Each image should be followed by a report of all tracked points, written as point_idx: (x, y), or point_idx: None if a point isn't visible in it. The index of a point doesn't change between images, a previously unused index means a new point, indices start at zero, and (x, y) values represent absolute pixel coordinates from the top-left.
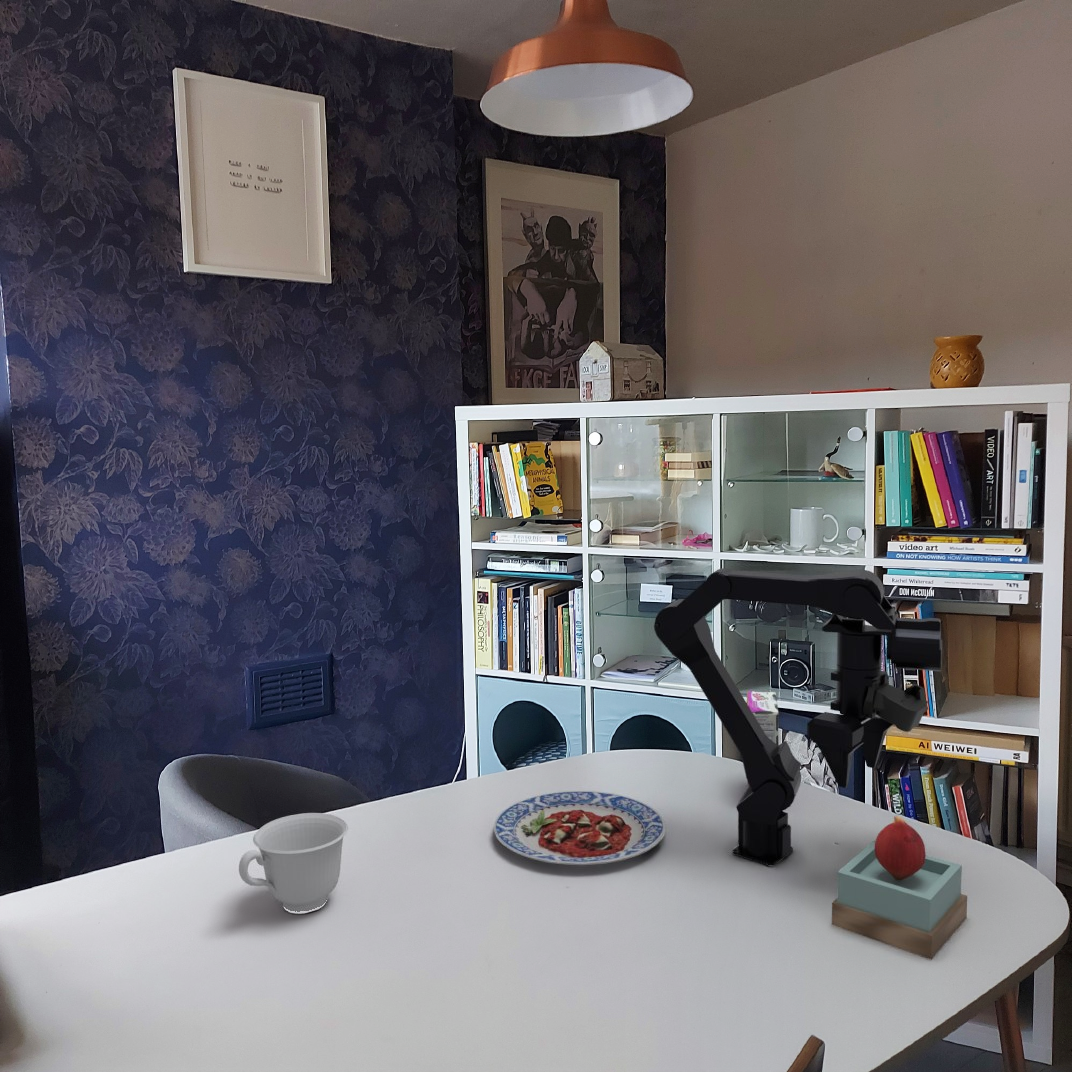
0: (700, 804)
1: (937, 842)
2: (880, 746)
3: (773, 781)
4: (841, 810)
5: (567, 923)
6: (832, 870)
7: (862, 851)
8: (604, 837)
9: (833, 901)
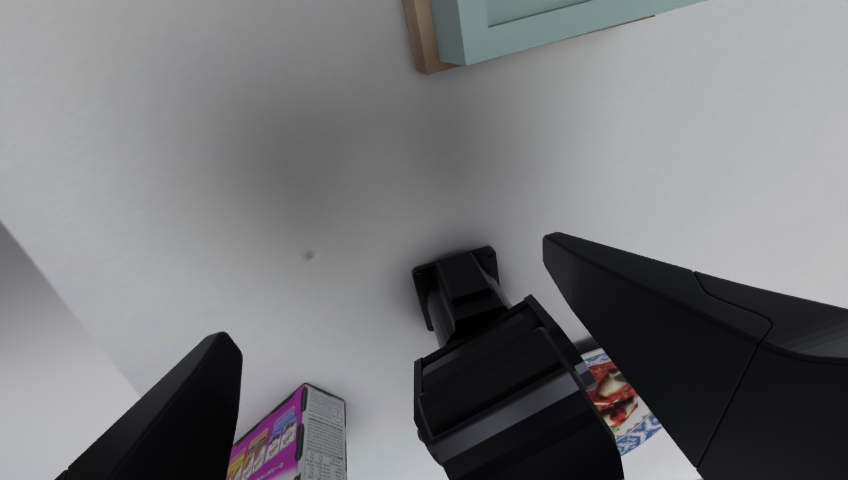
0: (395, 430)
1: (32, 125)
2: (114, 447)
3: (585, 385)
4: (176, 348)
5: (773, 263)
6: (415, 178)
7: (563, 35)
8: (607, 389)
9: (648, 17)
